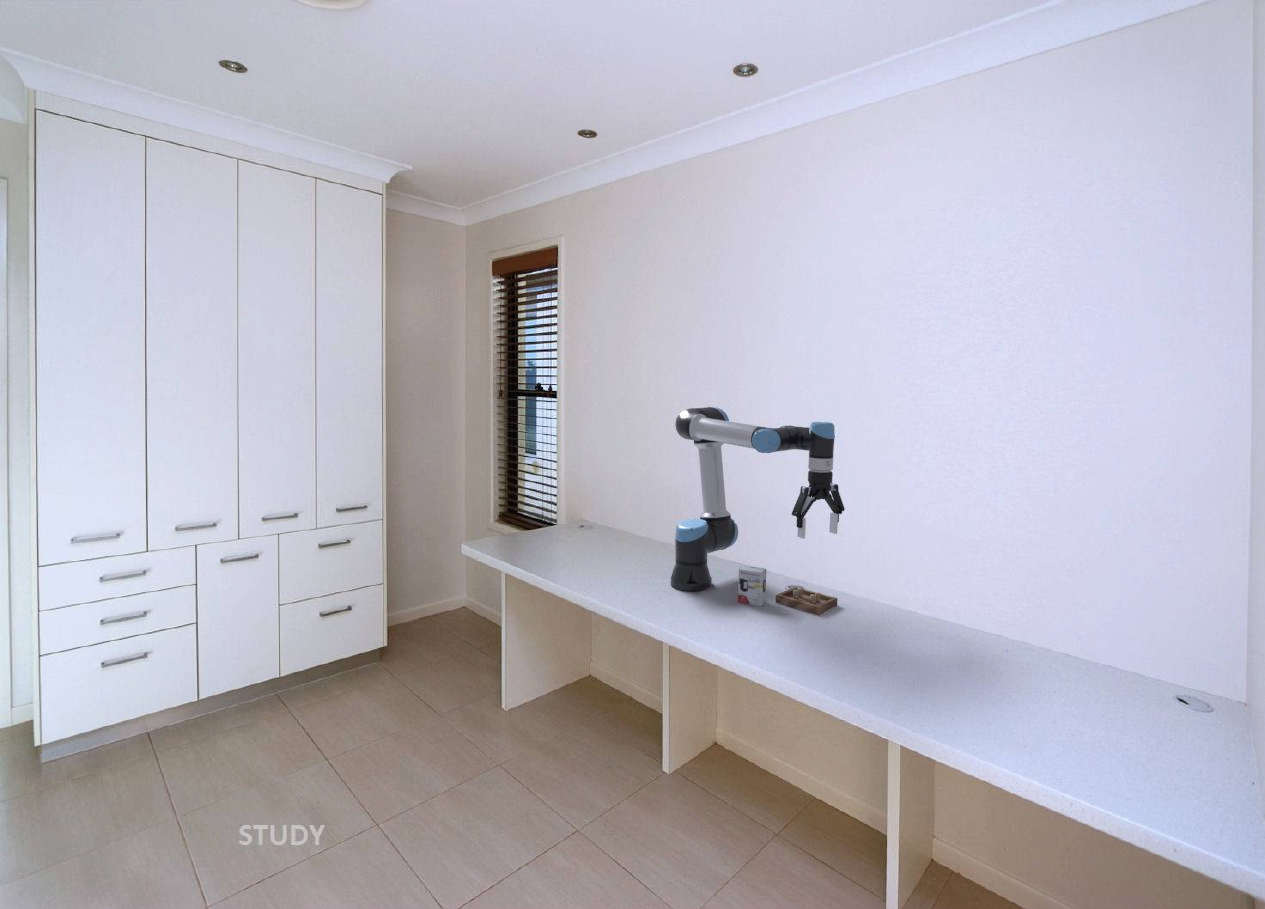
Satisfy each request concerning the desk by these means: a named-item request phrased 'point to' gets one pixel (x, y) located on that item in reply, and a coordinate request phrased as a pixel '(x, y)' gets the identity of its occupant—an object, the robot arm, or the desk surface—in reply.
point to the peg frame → (806, 600)
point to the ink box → (752, 585)
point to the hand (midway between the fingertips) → (817, 535)
